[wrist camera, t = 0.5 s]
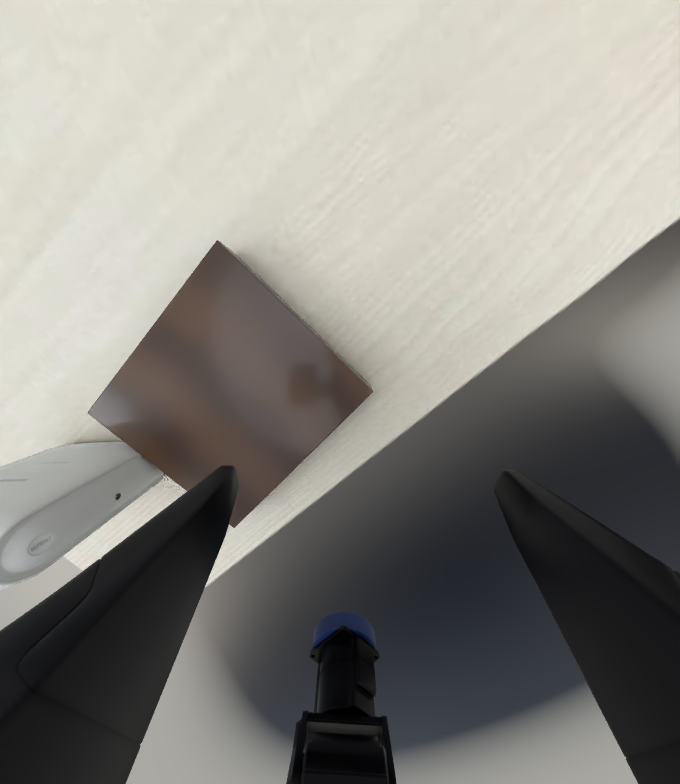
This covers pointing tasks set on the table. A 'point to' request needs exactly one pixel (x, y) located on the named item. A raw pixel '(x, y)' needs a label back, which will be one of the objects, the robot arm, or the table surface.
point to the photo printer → (64, 501)
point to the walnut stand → (229, 384)
